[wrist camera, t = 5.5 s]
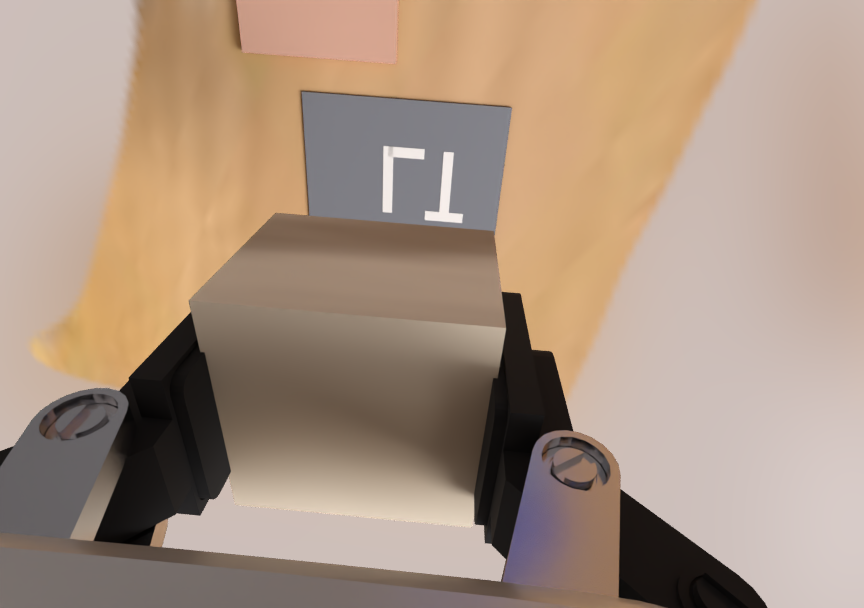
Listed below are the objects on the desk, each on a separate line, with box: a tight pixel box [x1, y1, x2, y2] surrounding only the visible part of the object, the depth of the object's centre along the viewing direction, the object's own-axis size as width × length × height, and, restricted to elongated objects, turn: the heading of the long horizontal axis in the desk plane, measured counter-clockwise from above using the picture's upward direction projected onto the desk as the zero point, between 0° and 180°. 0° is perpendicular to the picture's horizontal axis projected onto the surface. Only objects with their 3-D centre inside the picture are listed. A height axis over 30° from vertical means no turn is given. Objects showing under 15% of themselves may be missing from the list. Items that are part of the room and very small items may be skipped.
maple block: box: [189, 213, 506, 528], centre depth 10 cm, size 5×5×4 cm
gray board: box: [302, 91, 512, 235], centre depth 25 cm, size 10×10×1 cm
